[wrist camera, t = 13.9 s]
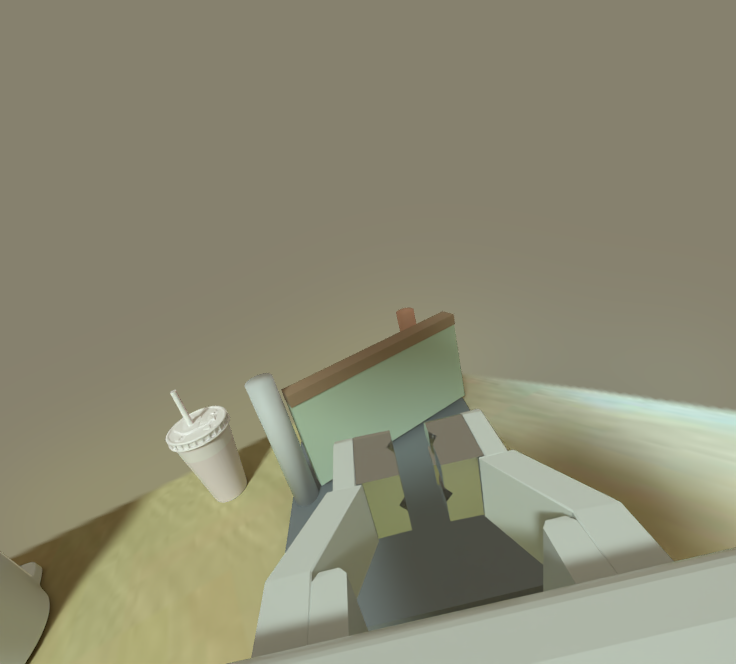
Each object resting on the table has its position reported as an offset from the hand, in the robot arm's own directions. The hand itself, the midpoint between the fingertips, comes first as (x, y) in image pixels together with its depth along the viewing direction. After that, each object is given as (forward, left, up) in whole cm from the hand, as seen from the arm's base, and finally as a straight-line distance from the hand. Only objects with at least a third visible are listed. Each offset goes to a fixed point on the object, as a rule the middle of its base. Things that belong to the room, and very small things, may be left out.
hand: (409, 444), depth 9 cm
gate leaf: (0, +24, -20) cm, 31 cm away
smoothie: (-21, +24, -22) cm, 39 cm away
